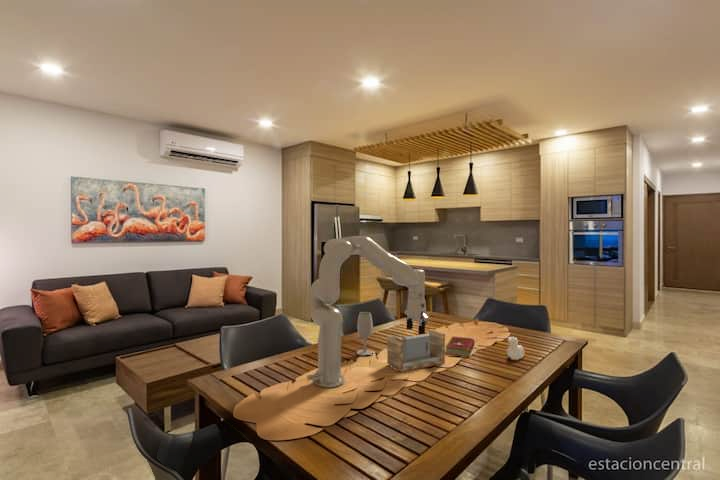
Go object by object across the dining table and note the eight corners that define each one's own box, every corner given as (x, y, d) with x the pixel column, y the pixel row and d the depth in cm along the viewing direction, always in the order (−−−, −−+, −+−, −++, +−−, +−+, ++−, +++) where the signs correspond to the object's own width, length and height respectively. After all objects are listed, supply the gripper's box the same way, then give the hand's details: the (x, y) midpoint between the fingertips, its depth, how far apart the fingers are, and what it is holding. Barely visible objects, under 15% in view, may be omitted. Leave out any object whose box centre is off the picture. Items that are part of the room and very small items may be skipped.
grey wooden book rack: (399, 371, 168) (399, 341, 168) (387, 364, 177) (387, 335, 177) (444, 362, 180) (444, 333, 180) (431, 356, 189) (431, 328, 189)
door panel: (406, 365, 174) (406, 339, 174) (401, 362, 177) (401, 337, 177) (430, 360, 180) (430, 335, 180) (425, 358, 183) (425, 333, 183)
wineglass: (373, 356, 189) (373, 315, 188) (356, 356, 189) (356, 315, 188) (373, 351, 197) (373, 311, 197) (356, 350, 198) (356, 311, 197)
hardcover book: (474, 345, 208) (474, 338, 208) (469, 357, 189) (469, 349, 189) (452, 343, 213) (452, 335, 213) (445, 354, 194) (445, 346, 194)
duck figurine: (521, 359, 191) (509, 339, 196) (532, 353, 186) (520, 332, 191) (507, 364, 184) (495, 342, 190) (518, 358, 179) (505, 336, 185)
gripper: (434, 298, 172) (433, 335, 172) (412, 292, 187) (411, 326, 187) (420, 298, 168) (419, 336, 169) (399, 293, 184) (398, 328, 184)
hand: (415, 331), depth 178 cm, fingers open, 9 cm apart
